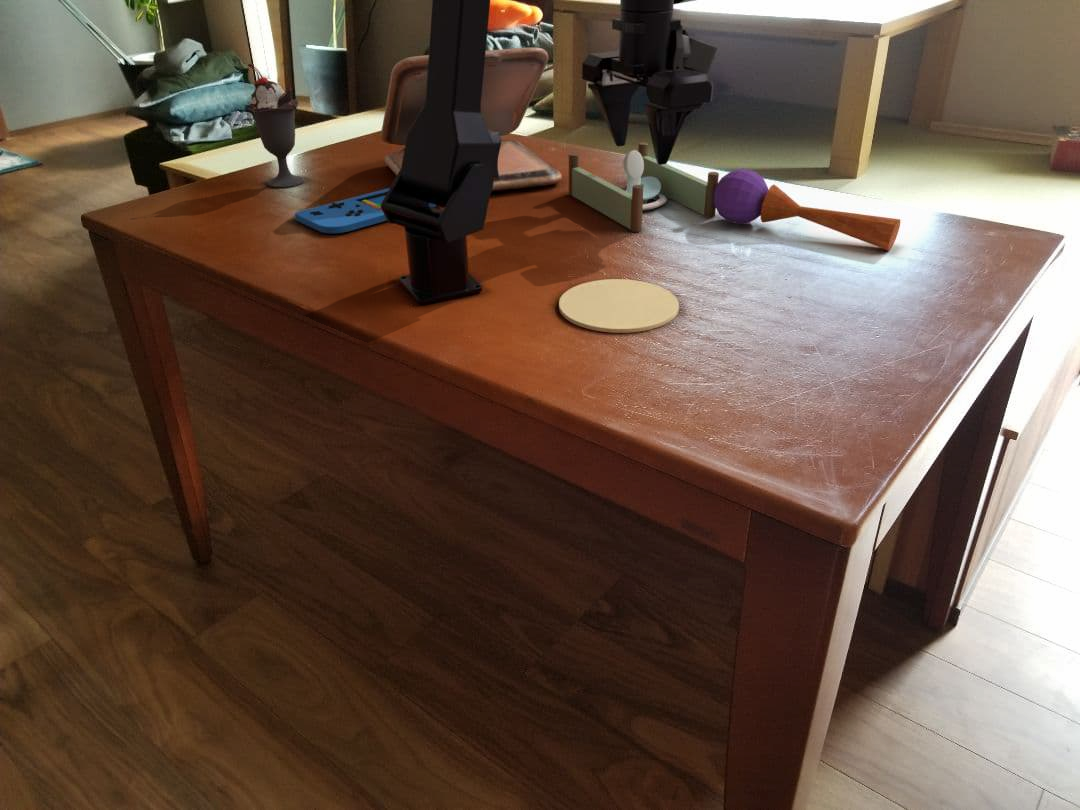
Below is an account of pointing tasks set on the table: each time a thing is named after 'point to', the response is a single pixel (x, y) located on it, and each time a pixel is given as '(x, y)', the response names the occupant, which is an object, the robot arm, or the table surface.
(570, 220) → the table surface
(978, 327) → the table surface
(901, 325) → the table surface
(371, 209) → the handheld gaming device
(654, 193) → the pacifier
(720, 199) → the kendama
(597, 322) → the coaster
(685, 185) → the rack
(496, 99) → the case
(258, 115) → the sundae
